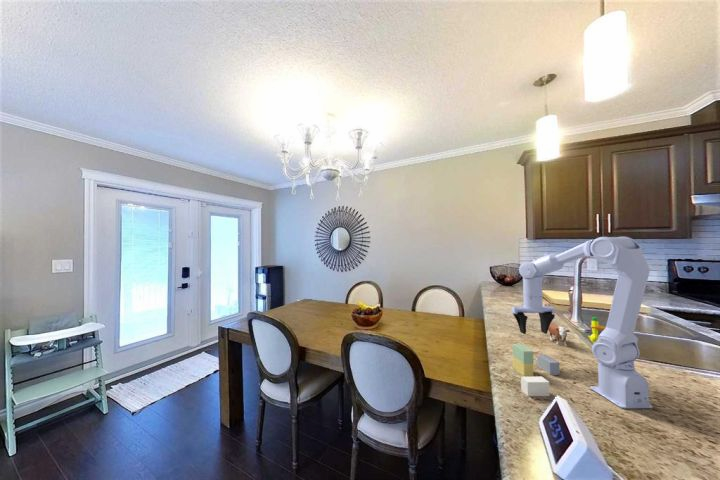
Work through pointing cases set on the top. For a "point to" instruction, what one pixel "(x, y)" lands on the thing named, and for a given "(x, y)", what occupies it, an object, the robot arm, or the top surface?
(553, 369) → the grey brick
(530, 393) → the cream brick
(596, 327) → the toy figure
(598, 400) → the top surface
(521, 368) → the mustard brick
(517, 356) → the green brick
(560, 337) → the bull figurine
